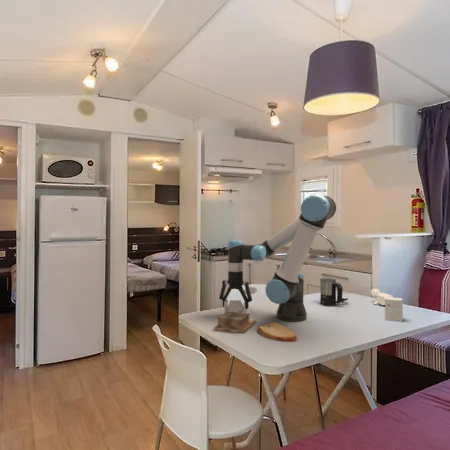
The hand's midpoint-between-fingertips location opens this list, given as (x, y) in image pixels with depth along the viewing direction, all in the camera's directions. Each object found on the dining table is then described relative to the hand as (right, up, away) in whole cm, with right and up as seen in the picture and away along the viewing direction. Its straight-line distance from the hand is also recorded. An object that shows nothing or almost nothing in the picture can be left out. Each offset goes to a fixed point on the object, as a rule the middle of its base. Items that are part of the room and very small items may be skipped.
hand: (235, 314), depth 191 cm
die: (0, -1, 0) cm, 1 cm away
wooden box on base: (0, -2, -16) cm, 16 cm away
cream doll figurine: (+86, -1, +26) cm, 90 cm away
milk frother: (+58, -1, +28) cm, 65 cm away
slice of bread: (+17, -3, -28) cm, 33 cm away
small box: (+79, -2, -4) cm, 79 cm away
